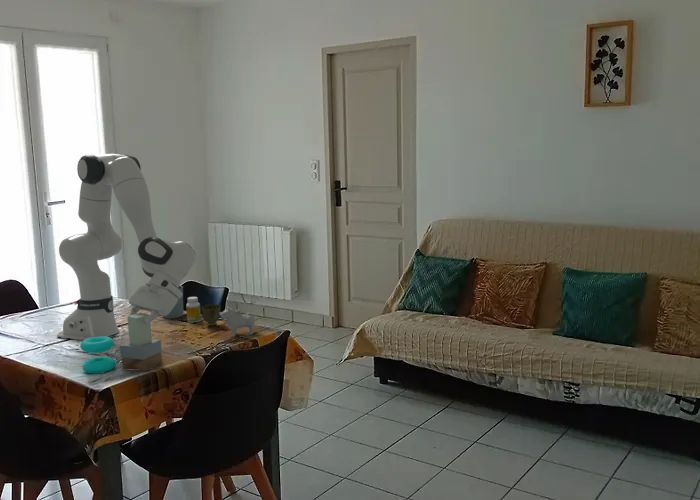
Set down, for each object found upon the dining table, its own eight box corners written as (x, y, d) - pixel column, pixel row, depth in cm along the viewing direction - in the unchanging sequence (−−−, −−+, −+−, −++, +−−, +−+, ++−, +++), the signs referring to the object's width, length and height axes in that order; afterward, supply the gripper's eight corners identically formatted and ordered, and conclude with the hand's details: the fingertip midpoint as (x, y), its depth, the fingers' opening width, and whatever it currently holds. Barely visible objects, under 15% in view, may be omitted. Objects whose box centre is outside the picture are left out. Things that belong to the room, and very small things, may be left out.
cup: (225, 323, 275) (223, 303, 274) (215, 328, 268) (214, 308, 267) (208, 322, 278) (207, 303, 276) (198, 327, 271) (197, 307, 269)
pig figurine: (220, 334, 260) (218, 306, 259) (254, 330, 264) (252, 303, 262) (221, 337, 255) (219, 309, 254) (256, 334, 259) (254, 306, 257)
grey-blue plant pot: (181, 318, 286) (179, 289, 284) (156, 319, 286) (154, 290, 284) (187, 312, 296) (185, 284, 294) (163, 313, 296) (161, 285, 294)
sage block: (129, 343, 225) (127, 315, 223) (143, 339, 228) (141, 312, 227) (138, 345, 222) (135, 318, 220) (151, 342, 225) (149, 314, 224)
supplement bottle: (197, 323, 277) (196, 299, 276) (185, 323, 279) (183, 299, 277) (203, 319, 283) (201, 296, 281) (190, 319, 284) (189, 296, 282)
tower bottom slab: (123, 370, 223) (122, 358, 222) (136, 361, 231) (135, 350, 231) (149, 371, 221) (148, 359, 220) (161, 362, 230) (160, 350, 229)
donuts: (119, 336, 225) (98, 345, 215) (122, 366, 226) (101, 376, 217) (95, 334, 228) (72, 342, 219) (97, 363, 230) (76, 373, 220)
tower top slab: (121, 357, 223) (119, 345, 223) (138, 349, 232) (137, 337, 231) (144, 359, 220) (143, 347, 219) (161, 351, 228) (160, 339, 228)
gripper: (139, 277, 234) (114, 311, 229) (173, 284, 220) (147, 320, 215) (152, 287, 238) (128, 321, 232) (186, 295, 224) (161, 331, 218)
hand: (138, 321), depth 223 cm, fingers open, 8 cm apart
